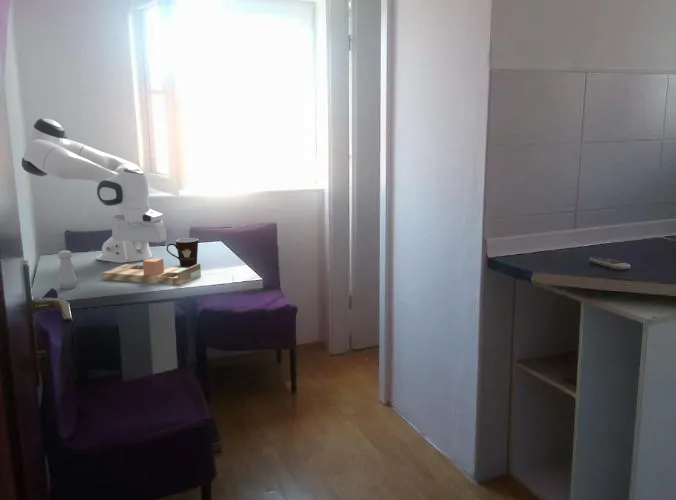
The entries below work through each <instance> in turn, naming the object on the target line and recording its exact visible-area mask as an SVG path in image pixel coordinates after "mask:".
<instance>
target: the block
mask: <svg viewBox="0 0 676 500" xmlns="http://www.w3.org/2000/svg"><path fill="white" fill-rule="evenodd" d="M142 265H143V272H144V275H152V276H157V275H159V274H161V273H164V267H165V266H164V259H163V258H159V257H158V258H154V257H151V258H149V259H146V260H142Z"/></svg>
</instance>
